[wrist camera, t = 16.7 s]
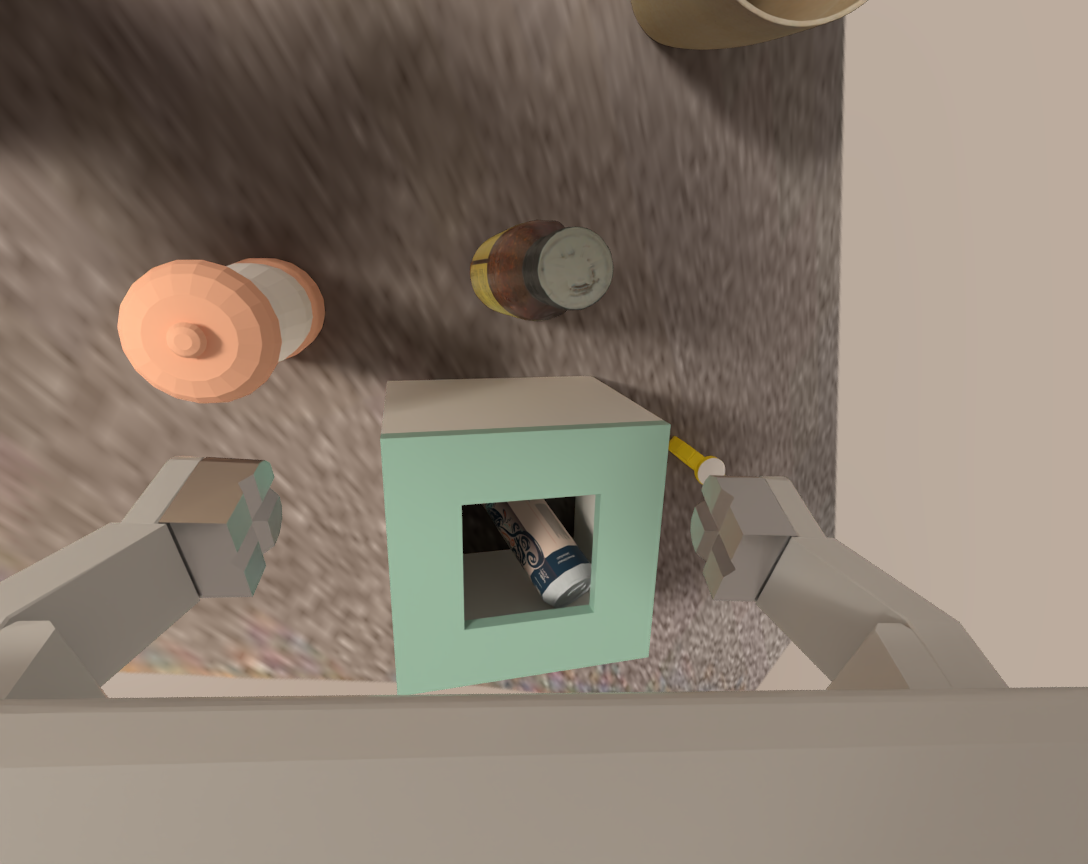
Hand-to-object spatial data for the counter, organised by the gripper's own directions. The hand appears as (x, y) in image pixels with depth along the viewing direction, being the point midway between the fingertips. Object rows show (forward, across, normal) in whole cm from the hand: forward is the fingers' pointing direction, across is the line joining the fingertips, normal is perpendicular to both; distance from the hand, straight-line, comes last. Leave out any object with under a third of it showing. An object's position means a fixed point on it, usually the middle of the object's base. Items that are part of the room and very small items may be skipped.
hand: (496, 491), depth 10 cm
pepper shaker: (+33, +17, +12) cm, 39 cm away
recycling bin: (+30, -1, +27) cm, 40 cm away
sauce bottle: (+37, -1, +10) cm, 38 cm away
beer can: (+29, -1, +26) cm, 39 cm away
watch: (+34, -20, +26) cm, 47 cm away
